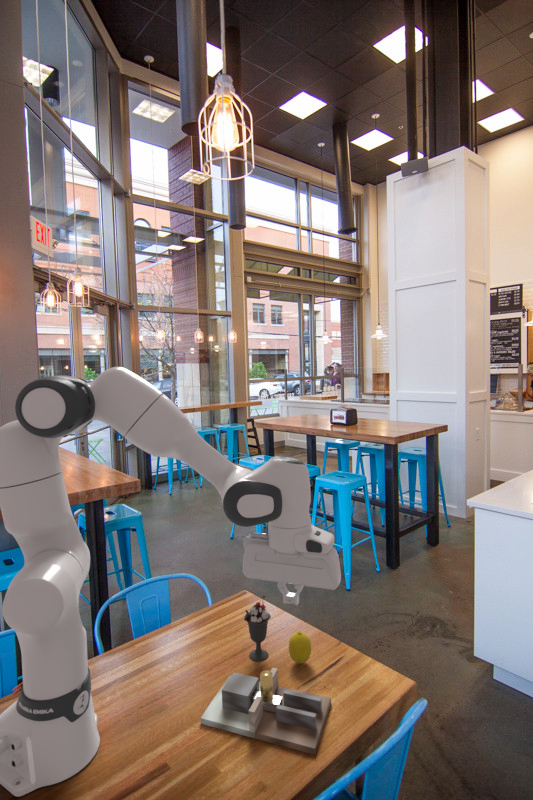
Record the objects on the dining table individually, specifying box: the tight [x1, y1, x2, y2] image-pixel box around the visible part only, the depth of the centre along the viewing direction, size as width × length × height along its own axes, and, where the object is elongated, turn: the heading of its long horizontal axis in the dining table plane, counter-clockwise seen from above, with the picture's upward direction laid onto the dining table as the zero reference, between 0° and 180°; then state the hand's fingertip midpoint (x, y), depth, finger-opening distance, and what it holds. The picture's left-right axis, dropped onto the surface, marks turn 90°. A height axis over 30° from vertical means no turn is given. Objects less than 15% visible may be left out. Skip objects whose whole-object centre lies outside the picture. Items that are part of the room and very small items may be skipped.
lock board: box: [199, 667, 332, 756], centre depth 92 cm, size 24×14×5 cm, turn 70°
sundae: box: [243, 595, 272, 662], centre depth 112 cm, size 7×7×15 cm
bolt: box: [250, 669, 283, 713], centre depth 93 cm, size 12×3×7 cm, turn 70°
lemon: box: [288, 631, 312, 665], centre depth 108 cm, size 6×6×8 cm
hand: (291, 603), depth 89 cm, fingers closed
